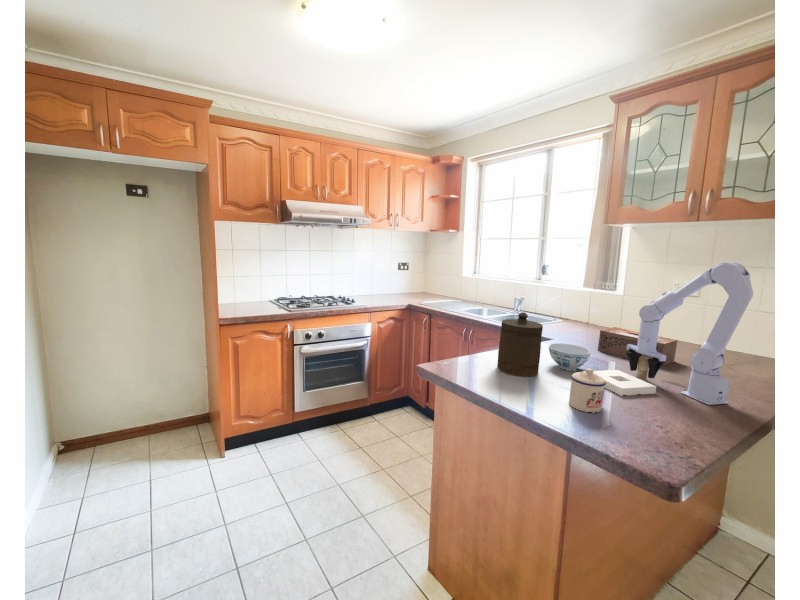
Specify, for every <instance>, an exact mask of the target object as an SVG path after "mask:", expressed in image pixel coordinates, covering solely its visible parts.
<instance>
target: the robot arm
mask: <svg viewBox="0 0 800 600" xmlns="http://www.w3.org/2000/svg"><path fill="white" fill-rule="evenodd" d="M715 284H716V285H717V284H718V285H719V286H720V287H722V288H723V290H724V291H725V292H726V293H727V295H728V297H727V299H726V301H725V304H724V305H723V308H722V309H721V311H720V313H719V315H718V317H717V319H716V322H715V323H714V325H713V327H712V330H711V331H710V332H709V334H708V337H707V338H706V341H705V342H704V344H702V345H701V346H700V348H699V350H698V351H697V352H696V353H694V354H693V355H692V356H691V358H690V365H691V368H690V369H691V370H690V376H689V381H688V387H687V390H686V391H685V390H684V391H683V390H682V391H680V394H682V395H684V396H687V397H689V398H692V399H694V400H696V401H699V402H701V403H704V404H707V405H710V406H711V405H712V406H713V405H724V404H728V403H729V402H728V401H727V398H728V393H729V389H730V382H729V380H728V379H727V378H726V377H723V376H722V375H721V370H720V369H719V368H721V367H723V366H724V364H725V361H726V360H725V354H726V352H727V346H728V344H729V342H730V340H731V338H732V336H733V334H734V332H735V330H736V329H737V327H738V325H739V323H740V321H741V319H742V317H743V316H744V314H745V311H746V310H747V308H748V306H749V304H750V303H751V300H752V298H753V296H754V289H753V285H752V282H751V273H750V272H749V271H748V269H746V267H745V266H744V265H743V264H740V263H738V262H731V263H729V262H719V263H718V264H715V265H714V266H713V267H710V268H709V269H706V270H704V271H703V272H702V273H700V274H699V275H698V276H696V277H695V278H693V279H692V280H690V281H689V282H688V283H686V284H684V285H683V286H682V287H680V288H679V289H678V290H676V291H673V290H670V291H668V292H666V291H664V292H663V293H661V296H660V297H658V298H657V299H655V300H652V301H651V302H649V303H650V304H646V305H643V306H642V307H641V308H640V309H639V311H638V312H639V313H638V315H639V318H640V325H639V330H638V332H639V336H638V343H637V346H636V345H632V344H627V350H629V351H626V354H627V357H628V358H627V360H628V363H629V369H630V371H631V372H635V371H636V372H637V370H638V363H639V357H640V356H641V354H643V355H646V356H649V357H652V358H653V359H648V364H649V367H648V374H647V378H648V379H655V377H656V375H657V373H658V372H659V370H660V368H662V367H663V366H662V365H663V364H664V363H665V361H666V356H665V355H663V354H661V353H659V352H657V350H656V344H657V338H658V336H659V331H660V323H661V320H663V319H664V317H665V316H666V315H669V314H670V313H671V312H672V311H674V310H676V309H678V308H679V307H681V306H682V305H683V304H684V299H686V298H687V297H690V296H691V295H693V294H695V293H697V292H698V291H700V290H702V289H703V288H706V287H707V286H710V285H715ZM661 366H662V367H661Z"/></svg>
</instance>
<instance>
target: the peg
mask: <svg viewBox="0 0 800 600" xmlns="http://www.w3.org/2000/svg"><path fill="white" fill-rule="evenodd" d="M648 359H649V358H645V357H639V362H638V366H637V370H636V376H635V377H636V378H638V379H640V380H643V381H645V382H647V380H648V379H647V378H648V371H649V364H648Z"/></svg>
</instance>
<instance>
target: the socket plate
mask: <svg viewBox="0 0 800 600" xmlns="http://www.w3.org/2000/svg"><path fill="white" fill-rule="evenodd" d="M593 373H595V374H597V375H598V376H600V377H602V378H603V379H604V380H605V382H606V384H605V386H604V389H606V390H607V391H610V390H611V391H610V392H612V391H613V392H612V393H614V392H615V393H614V394H616V395H618V396H620V397H624V396H623V395H626V396H638V395H637V394H641V395H653V394H656V391H657V386H656V385H654V384H652V383H649V382H647V381H643V380H640V379H638V378H636V376H633V375H631V374H628V373H626V372H624V371H621V370H619V369H607V370H605V369H603V370H593Z"/></svg>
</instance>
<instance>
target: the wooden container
mask: <svg viewBox="0 0 800 600" xmlns="http://www.w3.org/2000/svg"><path fill="white" fill-rule="evenodd" d="M517 316H518V317H517V318H508V319H502V320H501V327H500V337H499V343H498V350H497V351H498V353H497V369H498V370H499V371H501V372H502V373H505V374H508V375H511V376H516V377H526V376H527V377H535V376H537V375H538V374H539V367H540V358H541V346H542V336H543V335H542V334H543V328H544V326H543V324H542V323H539V322H537V321H533V320H528V318H529V315H528V314H527V313H526V312H520V313H518V315H517Z"/></svg>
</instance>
